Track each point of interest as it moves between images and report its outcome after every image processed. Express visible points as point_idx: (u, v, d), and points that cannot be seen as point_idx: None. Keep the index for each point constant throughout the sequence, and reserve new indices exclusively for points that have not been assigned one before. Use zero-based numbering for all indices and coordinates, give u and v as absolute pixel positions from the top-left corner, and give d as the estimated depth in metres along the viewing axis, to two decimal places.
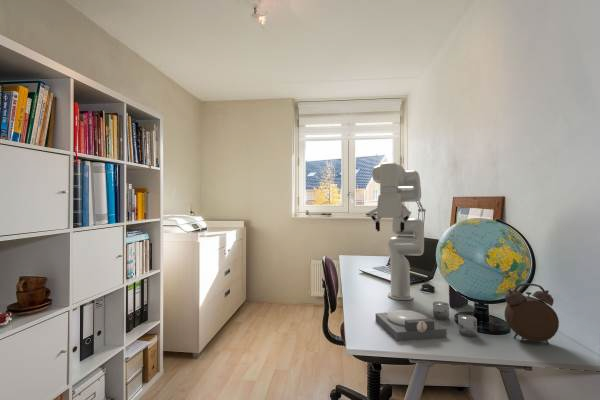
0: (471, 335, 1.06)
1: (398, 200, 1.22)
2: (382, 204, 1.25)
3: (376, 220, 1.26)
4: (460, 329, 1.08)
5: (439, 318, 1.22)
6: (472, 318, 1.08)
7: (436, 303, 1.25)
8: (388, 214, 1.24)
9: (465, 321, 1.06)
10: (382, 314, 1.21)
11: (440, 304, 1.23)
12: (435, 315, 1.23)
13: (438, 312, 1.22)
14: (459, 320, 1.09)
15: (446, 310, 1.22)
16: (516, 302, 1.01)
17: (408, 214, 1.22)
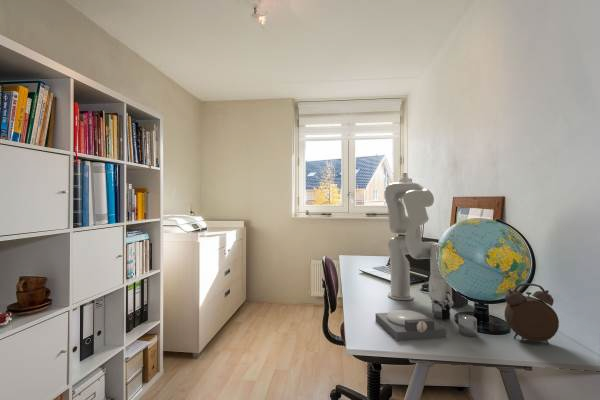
0: (471, 335, 1.06)
1: None
2: None
3: None
4: (460, 329, 1.08)
5: (439, 318, 1.22)
6: (472, 318, 1.08)
7: (436, 303, 1.25)
8: None
9: (465, 321, 1.06)
10: (382, 314, 1.21)
11: (440, 304, 1.23)
12: (435, 315, 1.23)
13: (438, 312, 1.22)
14: (459, 320, 1.09)
15: None
16: (516, 302, 1.01)
17: None
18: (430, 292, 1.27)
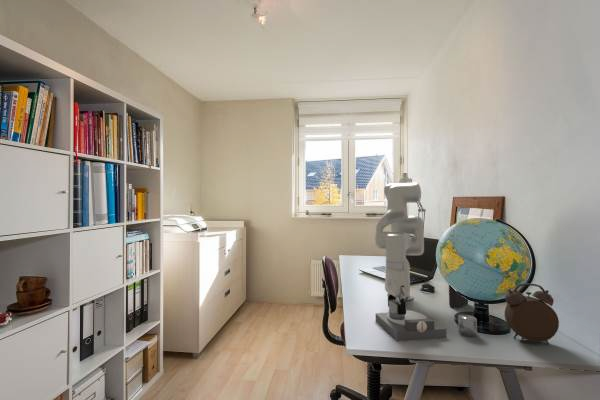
0: (471, 335, 1.06)
1: None
2: None
3: None
4: (460, 329, 1.08)
5: (394, 317, 1.13)
6: (472, 318, 1.08)
7: (392, 301, 1.15)
8: None
9: (465, 321, 1.06)
10: (382, 314, 1.21)
11: (396, 302, 1.14)
12: (390, 314, 1.14)
13: (393, 311, 1.13)
14: (459, 320, 1.09)
15: None
16: (516, 302, 1.01)
17: None
18: (386, 286, 1.18)
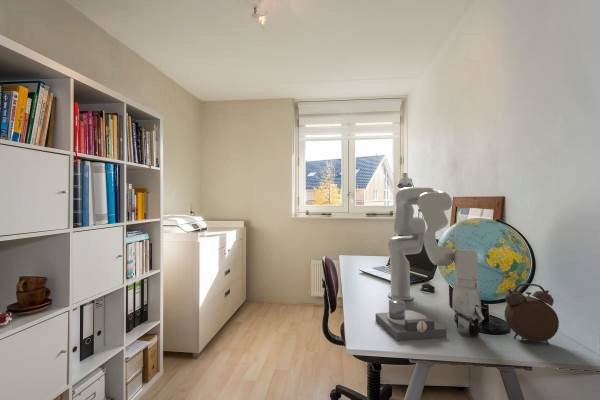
0: None
1: None
2: None
3: None
4: (460, 329, 1.08)
5: (394, 317, 1.13)
6: None
7: (392, 301, 1.15)
8: None
9: (465, 321, 1.06)
10: (382, 314, 1.21)
11: (396, 302, 1.14)
12: (390, 314, 1.14)
13: (393, 311, 1.13)
14: (459, 320, 1.09)
15: (402, 308, 1.12)
16: (516, 302, 1.01)
17: None
18: (454, 304, 1.11)
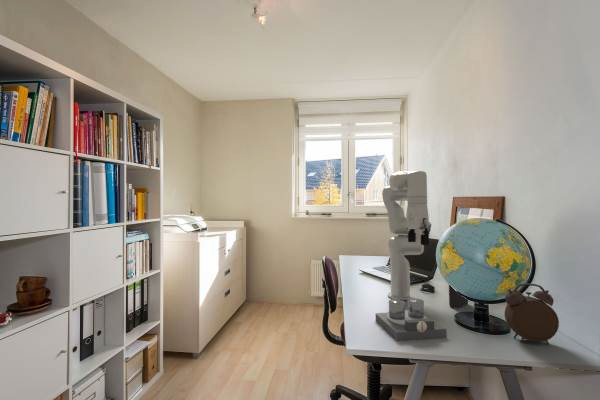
0: (418, 316, 1.13)
1: None
2: None
3: None
4: (408, 311, 1.16)
5: (394, 317, 1.13)
6: (420, 301, 1.16)
7: (392, 301, 1.15)
8: None
9: (412, 303, 1.14)
10: (382, 314, 1.21)
11: (396, 302, 1.14)
12: (390, 314, 1.14)
13: (393, 311, 1.13)
14: (408, 303, 1.16)
15: (402, 308, 1.12)
16: (516, 302, 1.01)
17: None
18: (407, 222, 1.22)
